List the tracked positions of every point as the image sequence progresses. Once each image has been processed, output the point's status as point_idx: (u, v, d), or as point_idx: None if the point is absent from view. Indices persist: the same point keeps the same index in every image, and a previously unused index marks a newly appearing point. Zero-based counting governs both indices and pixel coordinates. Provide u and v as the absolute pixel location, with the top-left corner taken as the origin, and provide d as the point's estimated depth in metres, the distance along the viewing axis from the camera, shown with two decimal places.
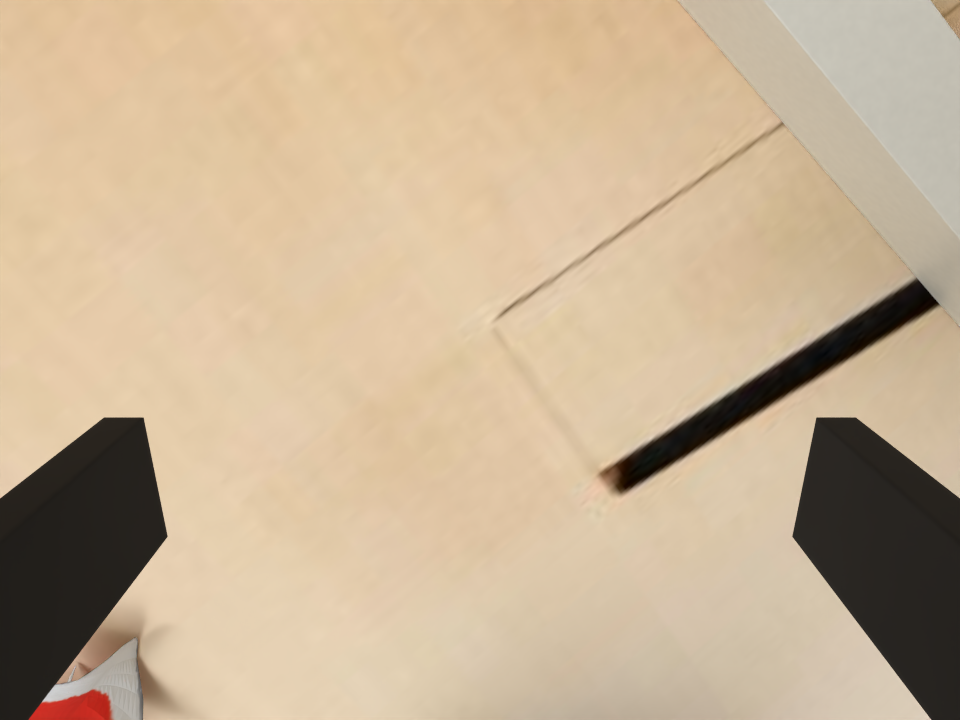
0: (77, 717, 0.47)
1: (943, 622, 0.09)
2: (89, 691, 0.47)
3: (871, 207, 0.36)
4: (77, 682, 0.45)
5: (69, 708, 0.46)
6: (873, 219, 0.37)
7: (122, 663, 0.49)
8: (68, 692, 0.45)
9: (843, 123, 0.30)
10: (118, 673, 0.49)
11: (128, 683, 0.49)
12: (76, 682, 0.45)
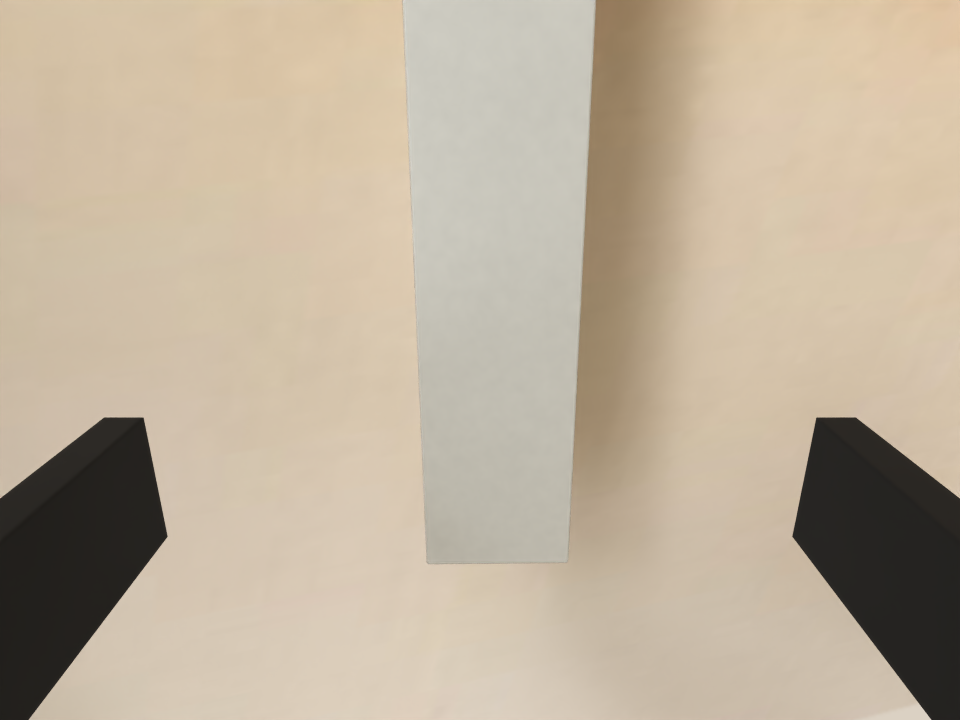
0: None
1: (943, 622, 0.09)
2: None
3: None
4: None
5: None
6: None
7: None
8: None
9: None
10: None
11: None
12: None
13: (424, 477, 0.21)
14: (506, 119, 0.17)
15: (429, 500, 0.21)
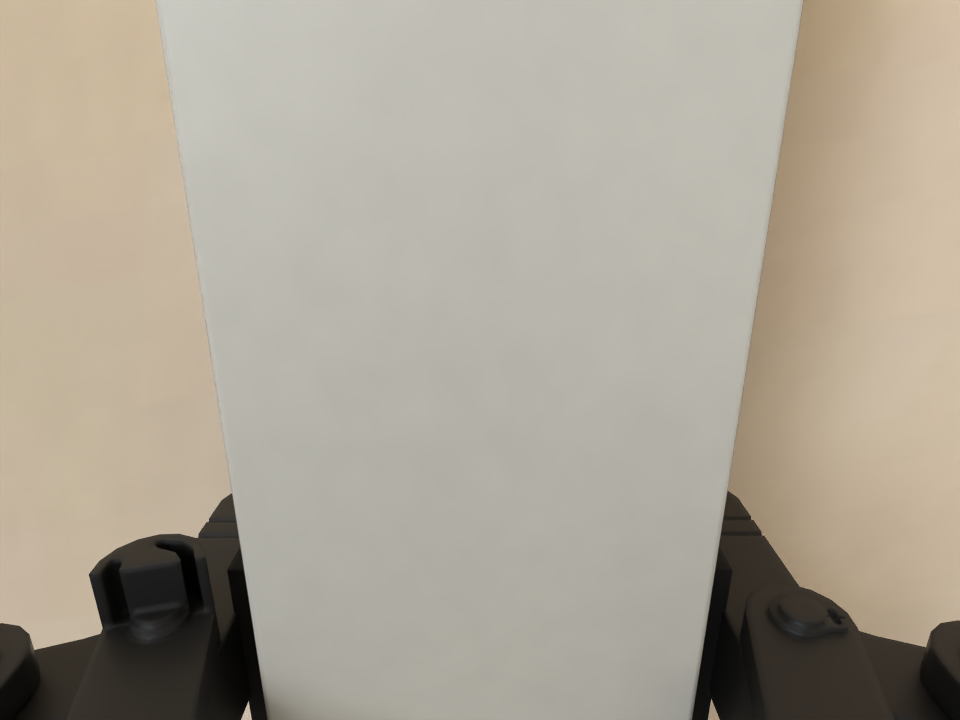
0: None
1: None
2: None
3: None
4: None
5: None
6: None
7: None
8: None
9: None
10: None
11: None
12: None
13: None
14: None
15: None
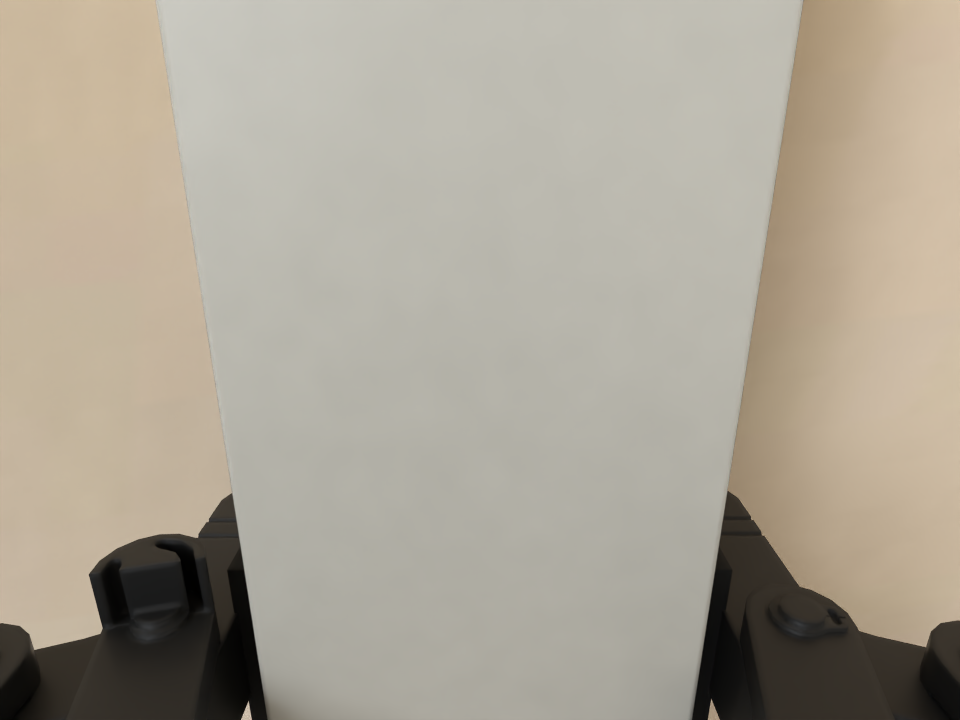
0: None
1: None
2: None
3: None
4: None
5: None
6: None
7: None
8: None
9: None
10: None
11: None
12: None
13: None
14: None
15: None
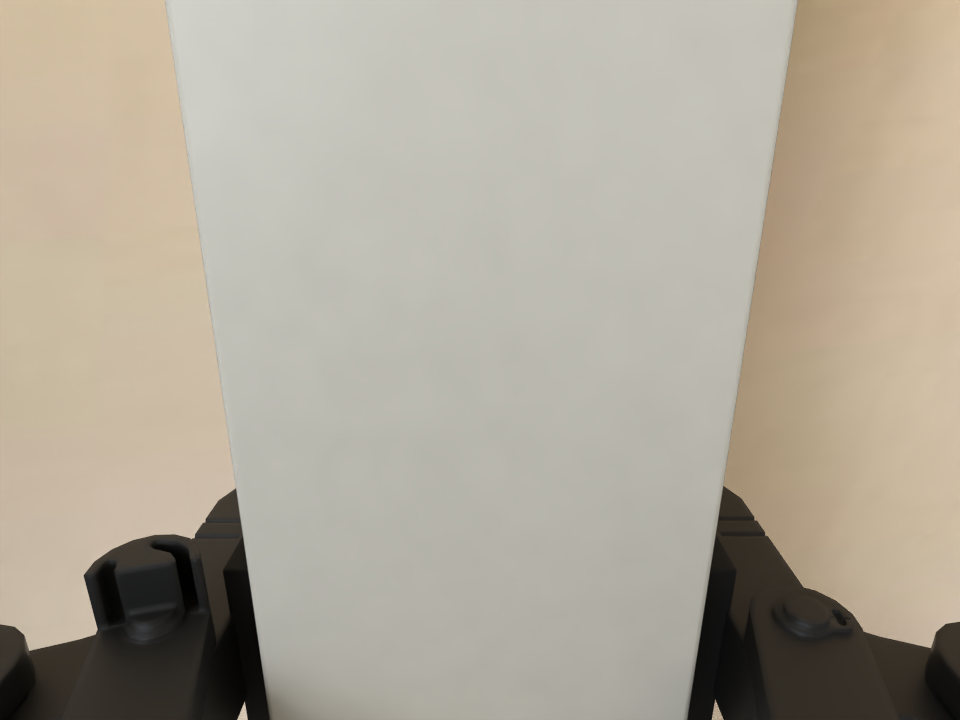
0: None
1: None
2: None
3: None
4: None
5: None
6: None
7: None
8: None
9: None
10: None
11: None
12: None
13: None
14: None
15: None
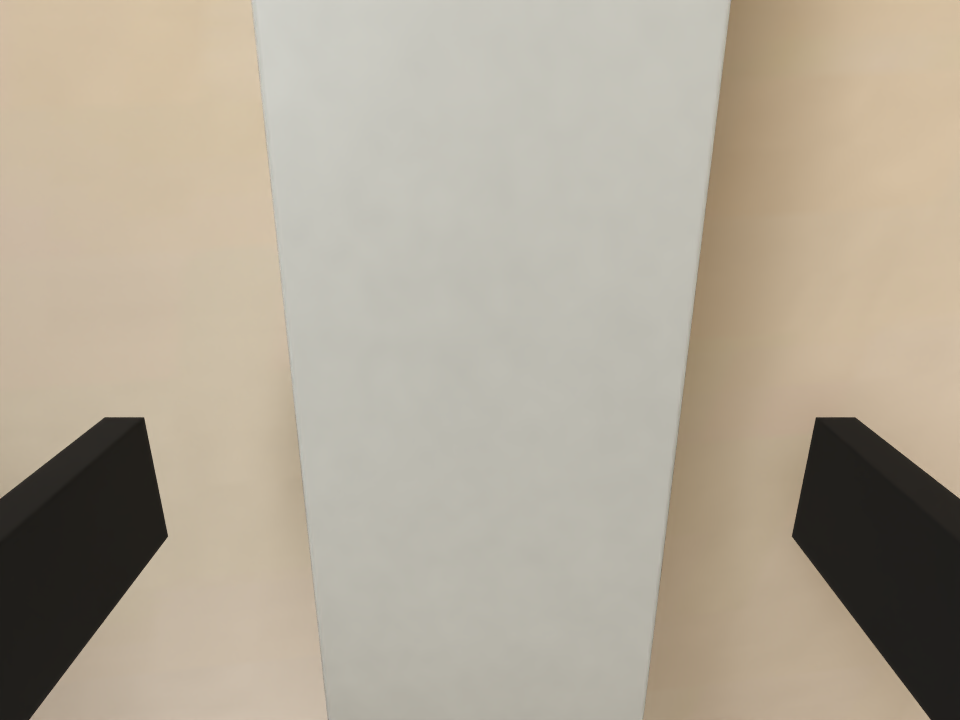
0: None
1: (942, 622, 0.09)
2: None
3: None
4: None
5: None
6: None
7: None
8: None
9: None
10: None
11: None
12: None
13: None
14: None
15: None
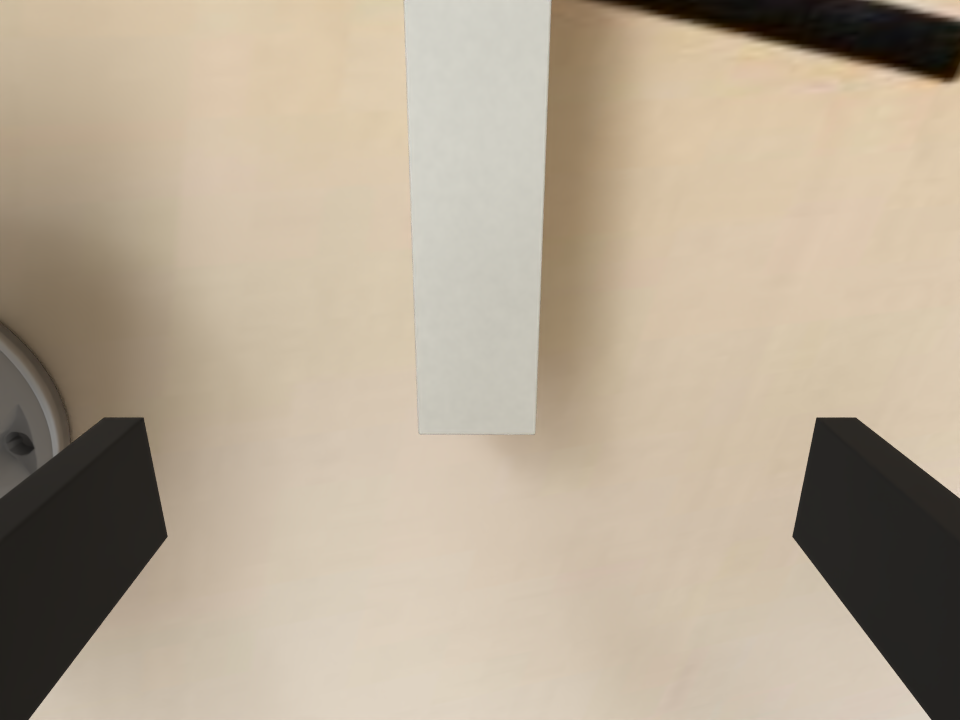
0: None
1: (942, 622, 0.09)
2: None
3: None
4: None
5: None
6: None
7: None
8: None
9: None
10: None
11: None
12: None
13: (416, 357, 0.25)
14: (483, 54, 0.21)
15: (420, 377, 0.25)
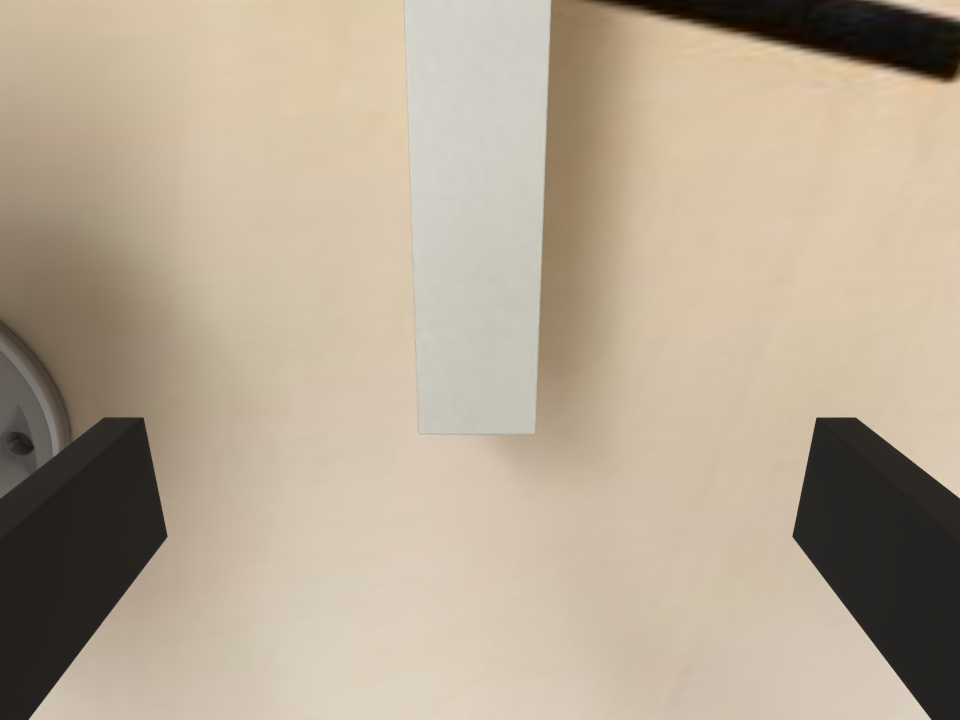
0: None
1: (943, 622, 0.09)
2: None
3: None
4: None
5: None
6: None
7: None
8: None
9: None
10: None
11: None
12: None
13: (417, 357, 0.25)
14: (483, 54, 0.21)
15: (420, 377, 0.25)
